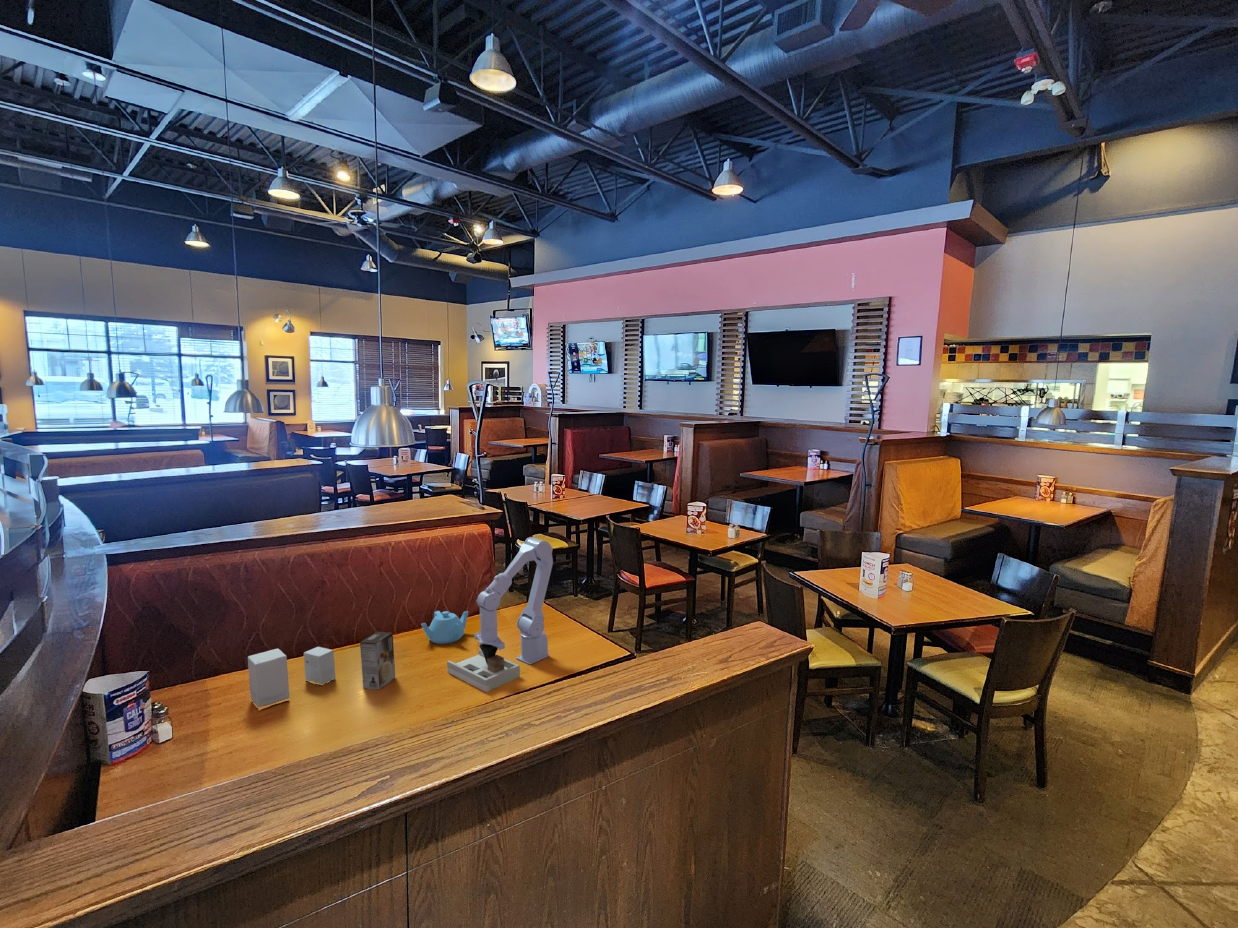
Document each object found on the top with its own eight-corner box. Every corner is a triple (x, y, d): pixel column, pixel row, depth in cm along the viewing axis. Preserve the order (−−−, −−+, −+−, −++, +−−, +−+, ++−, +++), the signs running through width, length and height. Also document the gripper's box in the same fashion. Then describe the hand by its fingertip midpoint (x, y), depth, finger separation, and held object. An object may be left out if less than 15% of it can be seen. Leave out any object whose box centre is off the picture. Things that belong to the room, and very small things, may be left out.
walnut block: (497, 665, 201) (496, 654, 200) (504, 668, 198) (503, 657, 198) (487, 669, 198) (487, 658, 197) (494, 672, 195) (494, 661, 195)
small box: (336, 679, 196) (334, 649, 195) (321, 686, 191) (319, 656, 190) (319, 675, 200) (317, 645, 198) (305, 682, 194) (303, 652, 193)
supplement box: (290, 701, 182) (287, 655, 180) (258, 711, 176) (254, 664, 174) (282, 691, 188) (278, 647, 187) (250, 701, 182) (246, 655, 180)
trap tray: (481, 658, 211) (480, 648, 211) (519, 676, 197) (519, 665, 196) (447, 672, 200) (447, 661, 200) (486, 692, 186) (485, 680, 186)
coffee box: (379, 675, 198) (376, 630, 197) (395, 677, 197) (393, 632, 196) (362, 688, 189) (359, 641, 188) (379, 690, 188) (377, 642, 187)
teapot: (471, 630, 238) (470, 605, 237) (460, 645, 223) (459, 618, 222) (434, 630, 238) (433, 605, 237) (421, 645, 224) (419, 618, 222)
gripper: (466, 624, 201) (468, 661, 202) (492, 634, 191) (493, 673, 192) (483, 618, 206) (484, 655, 207) (509, 628, 196) (510, 666, 198)
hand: (490, 663), depth 200 cm, fingers closed
